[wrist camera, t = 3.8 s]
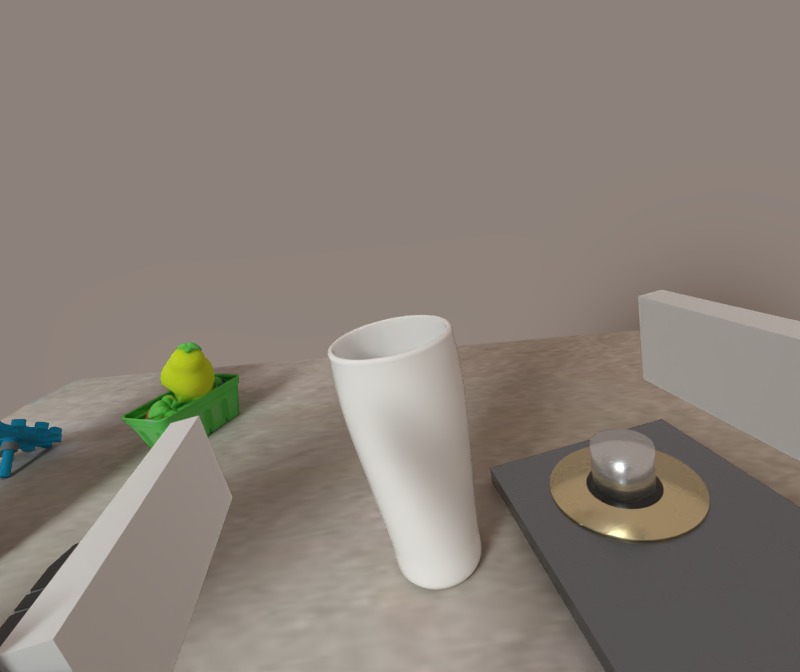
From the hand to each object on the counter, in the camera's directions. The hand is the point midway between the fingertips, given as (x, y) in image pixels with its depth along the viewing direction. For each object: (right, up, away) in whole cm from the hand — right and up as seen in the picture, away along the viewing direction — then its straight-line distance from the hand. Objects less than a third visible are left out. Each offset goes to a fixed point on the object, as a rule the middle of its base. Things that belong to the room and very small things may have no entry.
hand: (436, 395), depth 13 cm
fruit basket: (-25, -10, +40) cm, 48 cm away
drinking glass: (+2, -12, +15) cm, 19 cm away
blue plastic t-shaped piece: (-48, -15, +42) cm, 66 cm away
